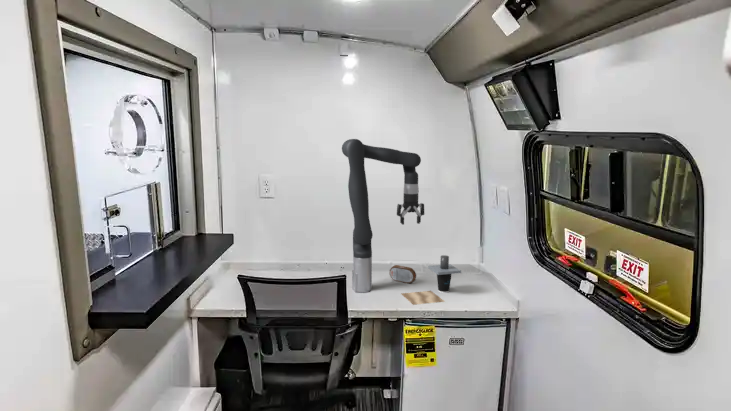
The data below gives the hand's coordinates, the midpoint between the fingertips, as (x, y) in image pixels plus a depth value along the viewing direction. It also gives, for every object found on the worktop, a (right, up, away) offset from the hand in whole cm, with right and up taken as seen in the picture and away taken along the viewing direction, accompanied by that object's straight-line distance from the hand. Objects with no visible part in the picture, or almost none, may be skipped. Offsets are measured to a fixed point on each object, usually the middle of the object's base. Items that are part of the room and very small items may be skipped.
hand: (410, 223), depth 239 cm
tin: (-3, -31, +9) cm, 33 cm away
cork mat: (+4, -35, -17) cm, 39 cm away
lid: (+16, -23, -9) cm, 29 cm away
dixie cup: (+16, -34, -7) cm, 38 cm away
